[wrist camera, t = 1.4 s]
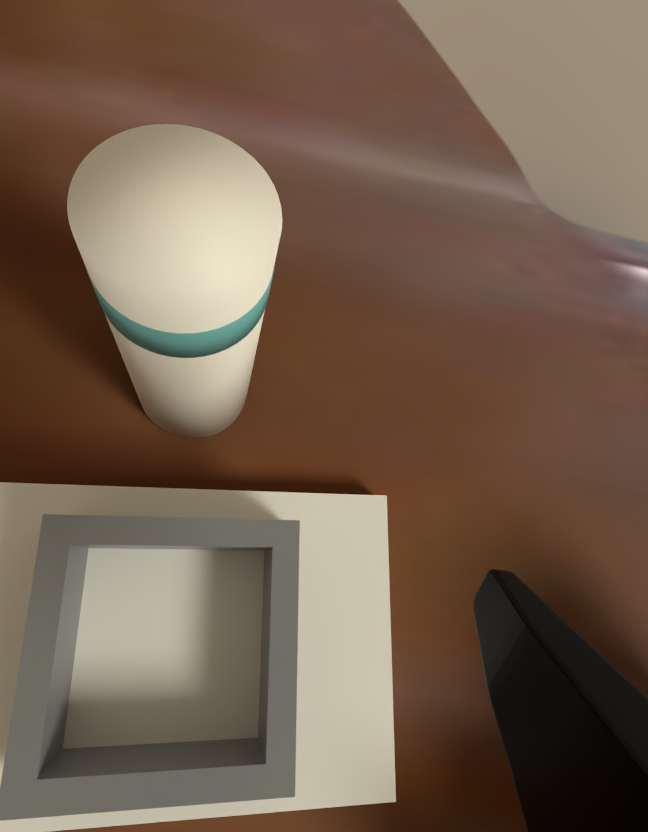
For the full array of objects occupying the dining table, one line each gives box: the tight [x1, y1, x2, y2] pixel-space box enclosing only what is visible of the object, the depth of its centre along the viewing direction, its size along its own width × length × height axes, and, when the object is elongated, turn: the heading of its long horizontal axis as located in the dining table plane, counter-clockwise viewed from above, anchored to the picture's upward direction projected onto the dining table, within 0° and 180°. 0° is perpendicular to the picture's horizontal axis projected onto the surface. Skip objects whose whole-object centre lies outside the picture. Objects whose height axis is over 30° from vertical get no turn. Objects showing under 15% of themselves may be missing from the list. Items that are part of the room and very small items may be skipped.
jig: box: [0, 482, 396, 832], centre depth 20 cm, size 12×18×4 cm, turn 90°
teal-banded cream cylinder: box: [67, 124, 282, 439], centre depth 19 cm, size 5×5×13 cm
